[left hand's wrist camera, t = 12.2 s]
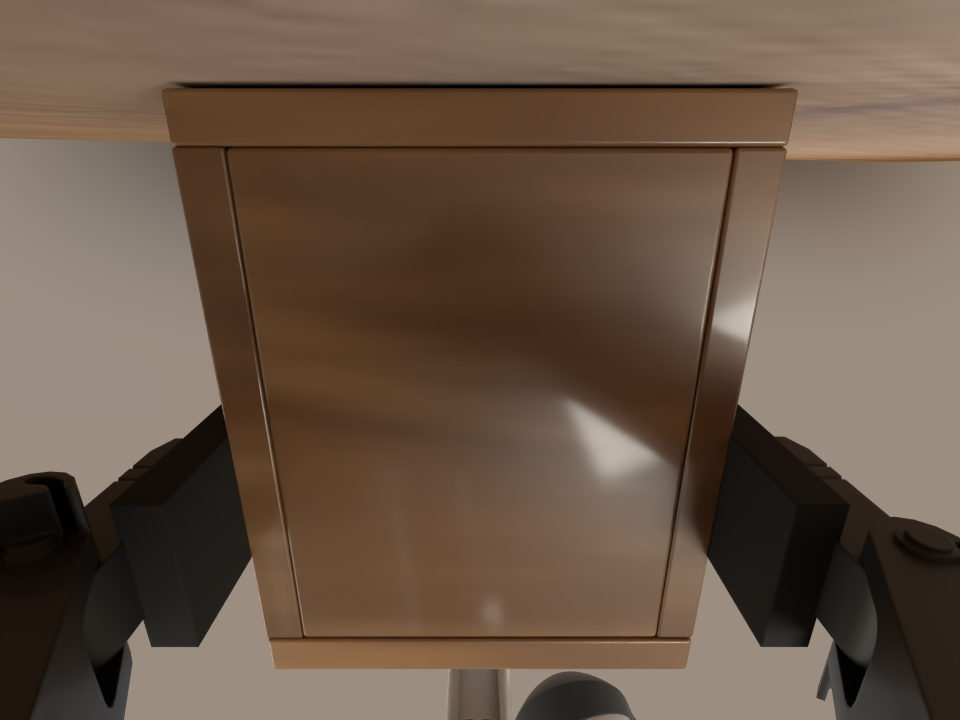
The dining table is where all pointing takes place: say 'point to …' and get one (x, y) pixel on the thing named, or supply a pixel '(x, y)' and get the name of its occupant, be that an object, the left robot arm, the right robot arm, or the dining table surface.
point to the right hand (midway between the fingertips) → (478, 641)
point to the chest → (479, 344)
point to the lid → (481, 652)
